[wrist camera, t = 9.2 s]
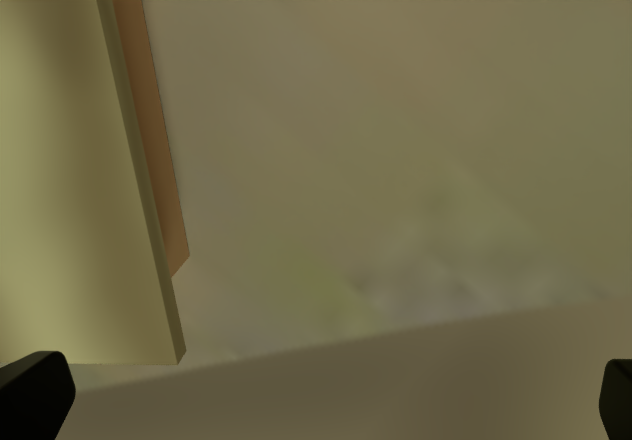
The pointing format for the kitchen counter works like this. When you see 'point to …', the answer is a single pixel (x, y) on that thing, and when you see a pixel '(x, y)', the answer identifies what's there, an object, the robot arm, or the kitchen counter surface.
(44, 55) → the lid
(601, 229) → the kitchen counter surface
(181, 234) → the open wooden box
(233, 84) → the kitchen counter surface
